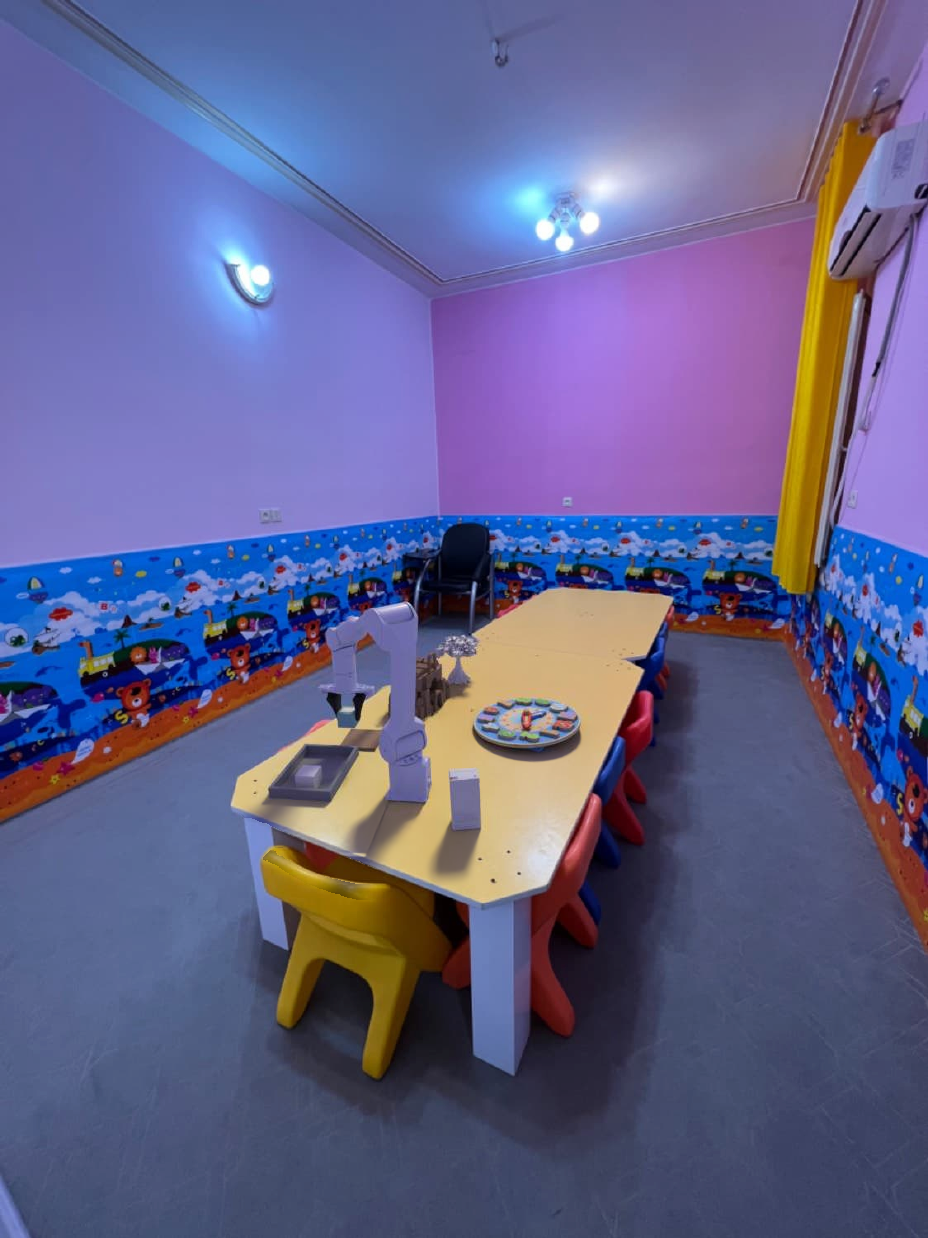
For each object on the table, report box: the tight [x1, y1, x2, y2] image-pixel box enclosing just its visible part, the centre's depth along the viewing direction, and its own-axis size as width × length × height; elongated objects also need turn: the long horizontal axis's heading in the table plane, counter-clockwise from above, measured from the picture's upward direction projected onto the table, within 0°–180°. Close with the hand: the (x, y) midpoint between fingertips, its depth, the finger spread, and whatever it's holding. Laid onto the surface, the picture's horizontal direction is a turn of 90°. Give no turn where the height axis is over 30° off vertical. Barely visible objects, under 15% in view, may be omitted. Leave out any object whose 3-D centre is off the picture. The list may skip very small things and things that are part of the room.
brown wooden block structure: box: [387, 651, 451, 720], centre depth 155 cm, size 22×15×19 cm, turn 154°
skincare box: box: [448, 767, 482, 831], centre depth 100 cm, size 6×4×12 cm
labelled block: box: [336, 705, 361, 729], centre depth 129 cm, size 4×4×4 cm
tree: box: [433, 635, 479, 685], centre depth 174 cm, size 18×16×17 cm
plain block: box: [295, 765, 323, 789], centre depth 114 cm, size 4×4×4 cm
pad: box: [339, 728, 381, 752], centre depth 135 cm, size 10×10×1 cm
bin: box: [267, 743, 360, 802], centre depth 119 cm, size 15×20×3 cm
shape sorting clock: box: [473, 697, 582, 753], centre depth 140 cm, size 31×30×6 cm
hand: (349, 718), depth 129 cm, fingers closed on labelled block, 4 cm apart
